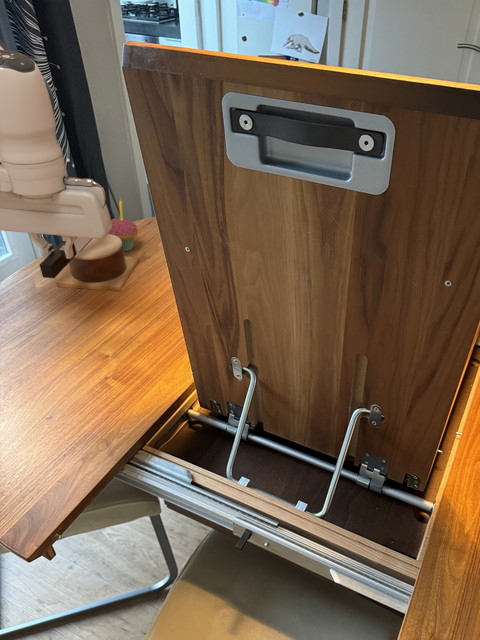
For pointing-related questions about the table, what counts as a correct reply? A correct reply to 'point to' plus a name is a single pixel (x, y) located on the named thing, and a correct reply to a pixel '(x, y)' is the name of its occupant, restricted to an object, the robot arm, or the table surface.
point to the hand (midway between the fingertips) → (58, 256)
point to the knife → (54, 261)
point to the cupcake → (124, 230)
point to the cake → (99, 266)
